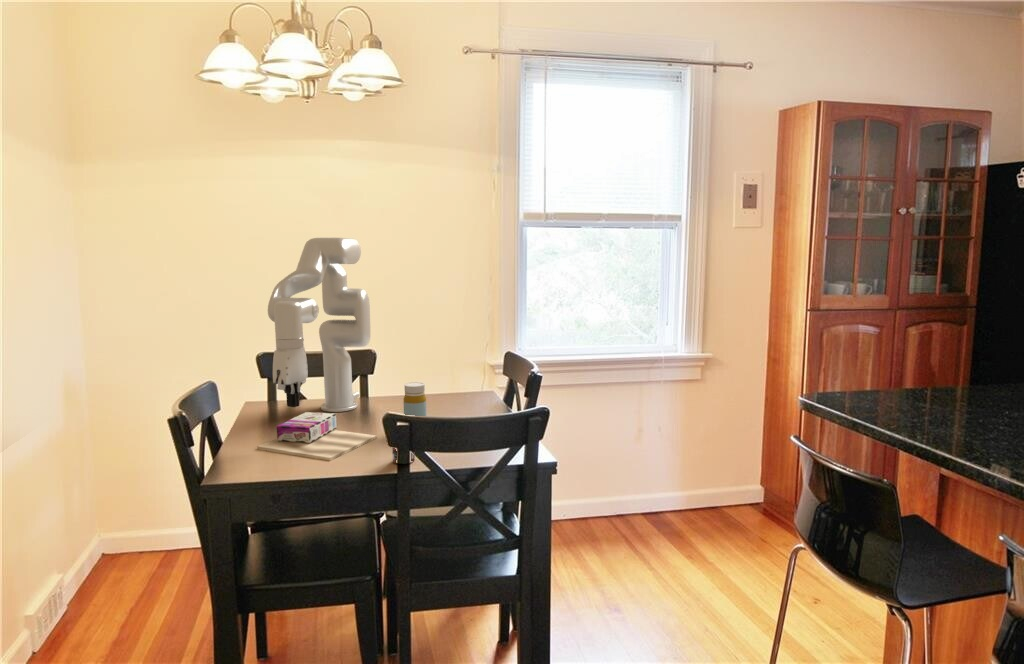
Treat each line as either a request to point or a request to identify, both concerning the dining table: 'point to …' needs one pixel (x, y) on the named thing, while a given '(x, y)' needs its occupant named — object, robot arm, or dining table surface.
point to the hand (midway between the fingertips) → (293, 406)
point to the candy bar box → (307, 427)
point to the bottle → (415, 399)
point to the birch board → (321, 445)
